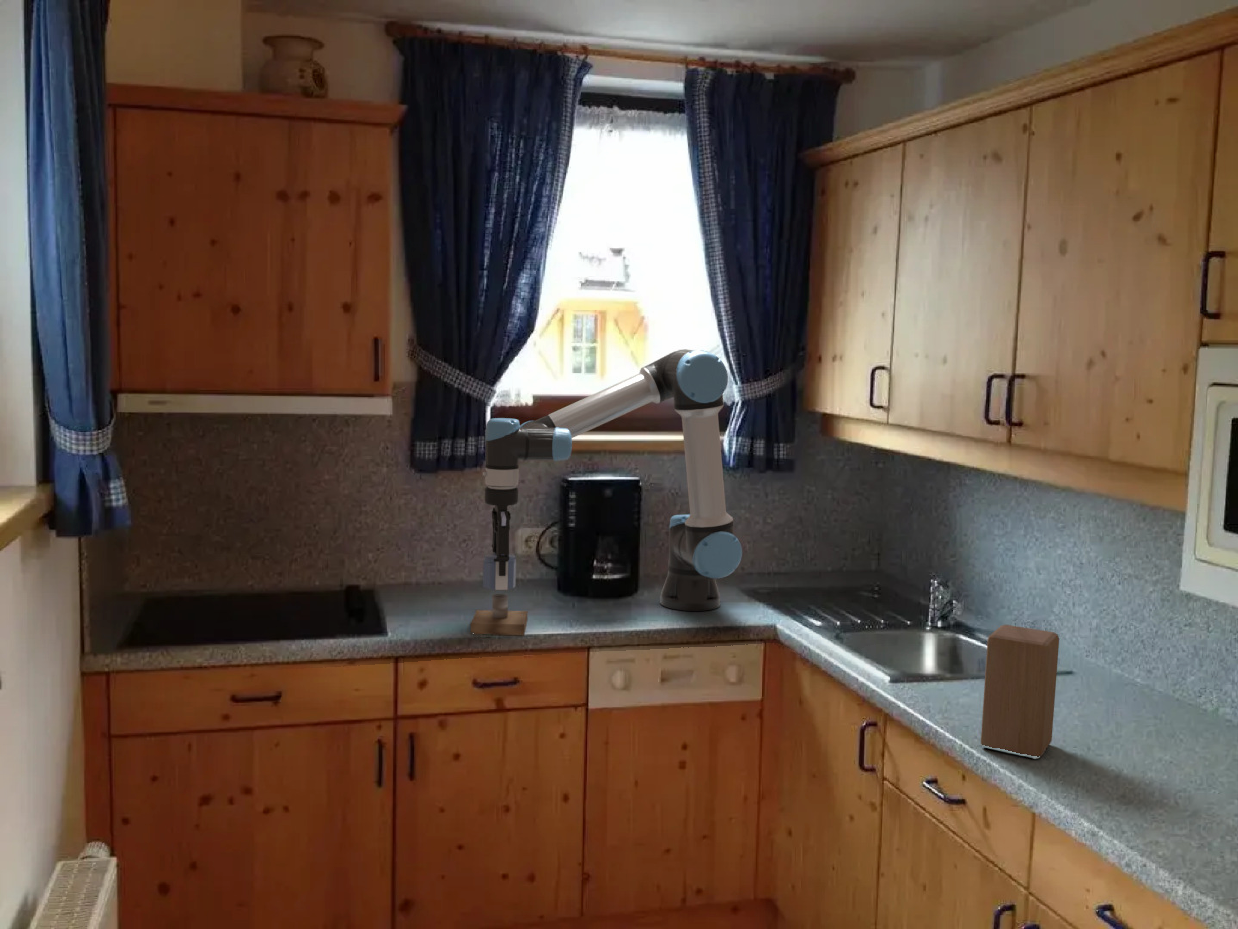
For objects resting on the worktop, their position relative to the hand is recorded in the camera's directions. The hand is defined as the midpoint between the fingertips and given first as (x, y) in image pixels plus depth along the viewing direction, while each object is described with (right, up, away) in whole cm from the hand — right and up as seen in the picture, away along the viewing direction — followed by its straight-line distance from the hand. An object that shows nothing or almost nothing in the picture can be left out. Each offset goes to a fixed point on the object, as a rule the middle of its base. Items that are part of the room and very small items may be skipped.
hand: (499, 585), depth 262 cm
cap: (0, 0, 0) cm, 0 cm away
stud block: (0, -10, +1) cm, 10 cm away
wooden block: (+95, -21, -66) cm, 118 cm away
